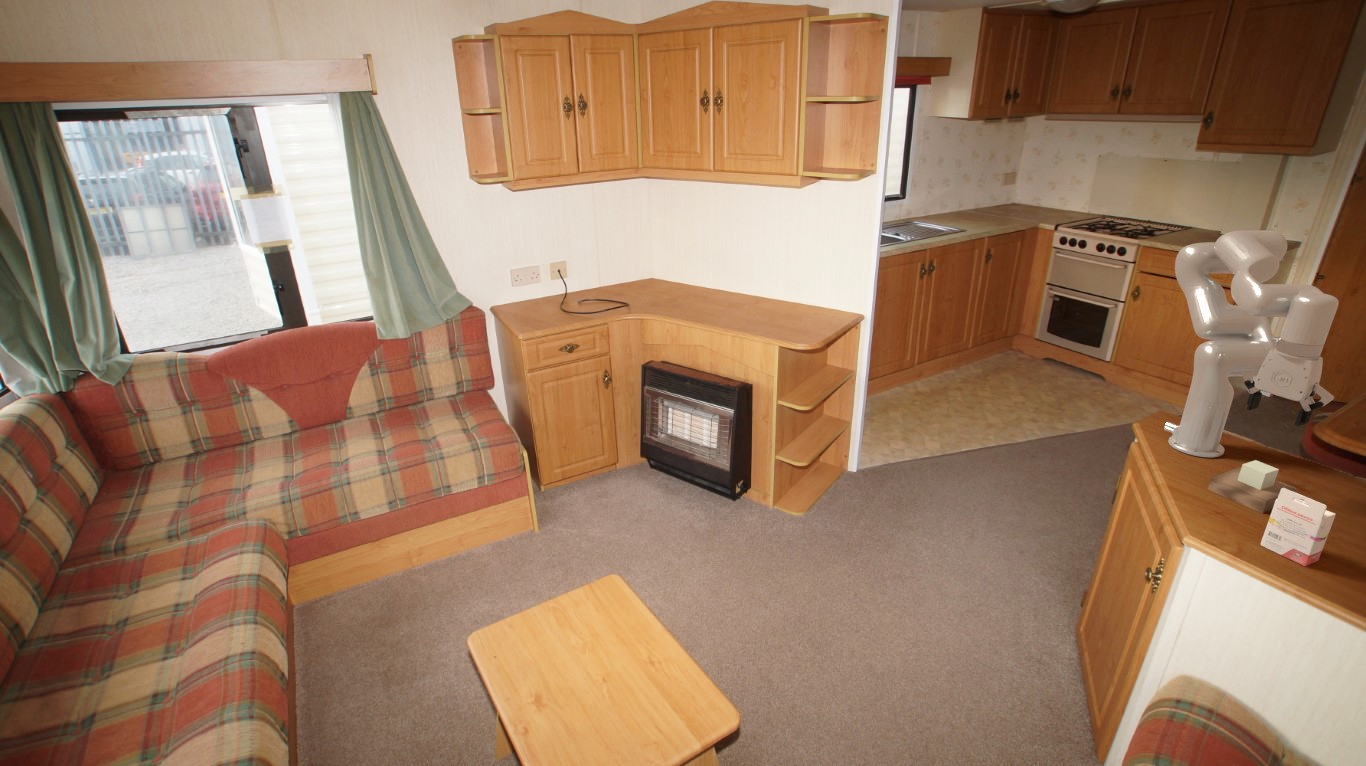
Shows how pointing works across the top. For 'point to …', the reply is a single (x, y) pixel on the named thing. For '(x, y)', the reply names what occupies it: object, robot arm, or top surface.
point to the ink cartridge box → (1297, 527)
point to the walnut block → (1246, 491)
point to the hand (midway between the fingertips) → (1275, 416)
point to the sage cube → (1258, 474)
